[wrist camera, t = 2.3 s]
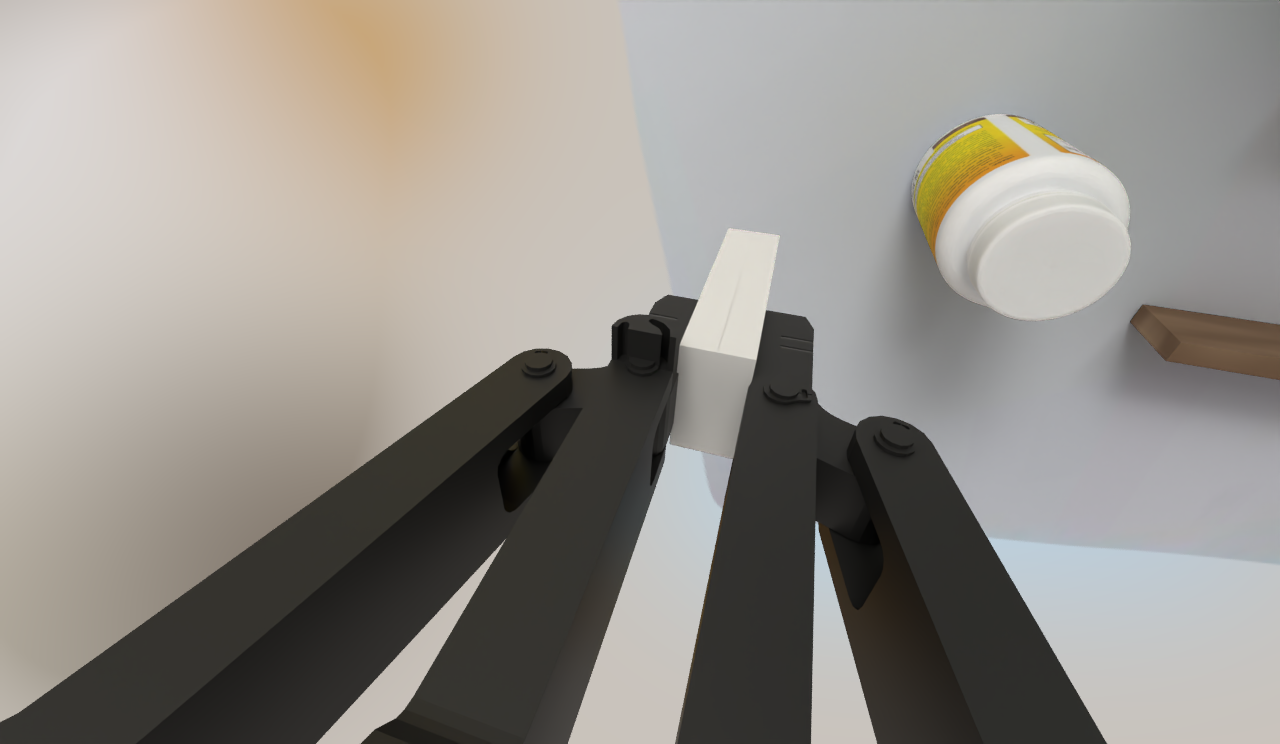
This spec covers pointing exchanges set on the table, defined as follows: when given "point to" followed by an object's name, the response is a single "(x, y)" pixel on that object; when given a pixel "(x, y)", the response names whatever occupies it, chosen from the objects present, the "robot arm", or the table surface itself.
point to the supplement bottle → (1021, 218)
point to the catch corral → (1212, 340)
